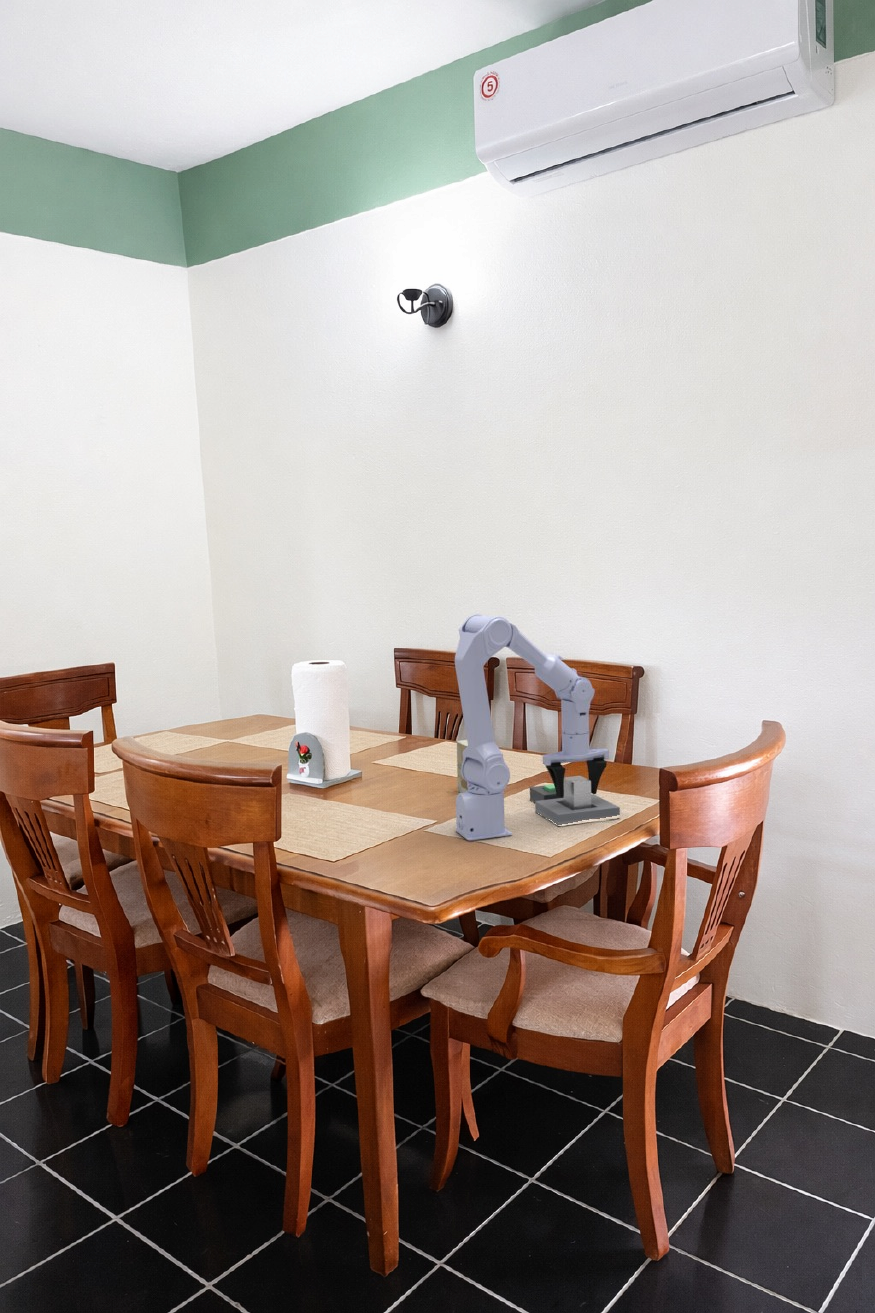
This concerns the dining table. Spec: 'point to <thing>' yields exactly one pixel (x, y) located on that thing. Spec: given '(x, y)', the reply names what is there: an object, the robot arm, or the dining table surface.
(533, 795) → the button housing
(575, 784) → the block
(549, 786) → the button
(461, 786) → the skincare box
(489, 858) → the dining table surface
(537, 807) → the pocket plate
